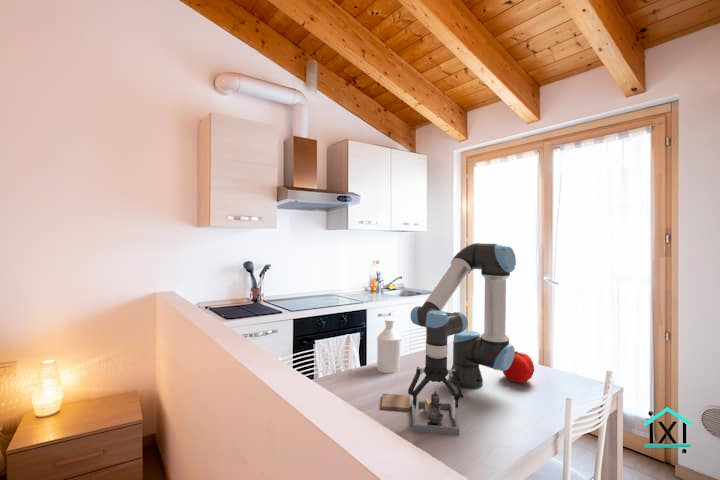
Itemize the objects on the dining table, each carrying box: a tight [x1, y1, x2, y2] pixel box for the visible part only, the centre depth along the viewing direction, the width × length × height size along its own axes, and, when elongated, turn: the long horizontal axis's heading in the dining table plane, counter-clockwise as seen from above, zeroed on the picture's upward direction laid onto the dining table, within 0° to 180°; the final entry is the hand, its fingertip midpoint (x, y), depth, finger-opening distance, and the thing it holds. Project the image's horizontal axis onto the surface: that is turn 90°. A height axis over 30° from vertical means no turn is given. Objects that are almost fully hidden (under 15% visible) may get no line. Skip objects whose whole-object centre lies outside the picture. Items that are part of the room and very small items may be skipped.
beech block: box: [424, 397, 441, 413], centre depth 136 cm, size 4×4×4 cm
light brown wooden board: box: [381, 393, 411, 412], centre depth 142 cm, size 11×11×1 cm
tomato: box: [502, 351, 535, 384], centre depth 167 cm, size 16×14×14 cm
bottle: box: [376, 318, 402, 374], centre depth 179 cm, size 12×12×25 cm
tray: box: [411, 399, 461, 435], centre depth 131 cm, size 16×19×2 cm
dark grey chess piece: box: [426, 391, 444, 426], centre depth 127 cm, size 6×6×12 cm
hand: (435, 415), depth 127 cm, fingers open, 12 cm apart
